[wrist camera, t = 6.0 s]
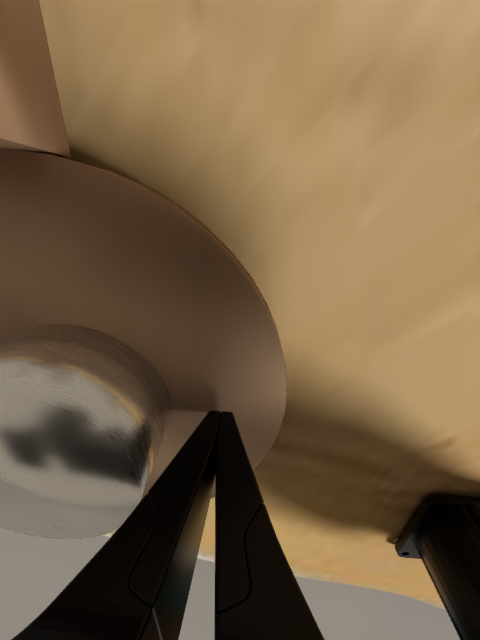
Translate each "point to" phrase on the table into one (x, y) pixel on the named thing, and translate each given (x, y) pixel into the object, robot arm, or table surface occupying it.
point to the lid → (76, 431)
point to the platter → (125, 262)
